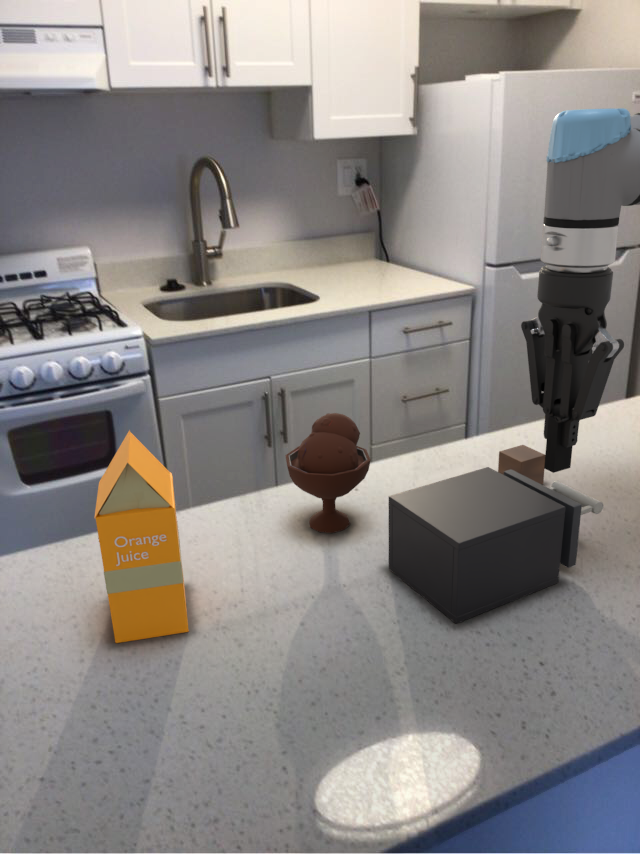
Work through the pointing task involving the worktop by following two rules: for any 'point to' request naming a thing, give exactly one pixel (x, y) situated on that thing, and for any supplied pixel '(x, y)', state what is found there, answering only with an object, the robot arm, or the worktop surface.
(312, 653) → the worktop surface
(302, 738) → the worktop surface
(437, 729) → the worktop surface
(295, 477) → the ice cream bowl
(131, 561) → the orange juice
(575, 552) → the dark grey drawer
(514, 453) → the block
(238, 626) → the worktop surface
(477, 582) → the dark grey cuboid
